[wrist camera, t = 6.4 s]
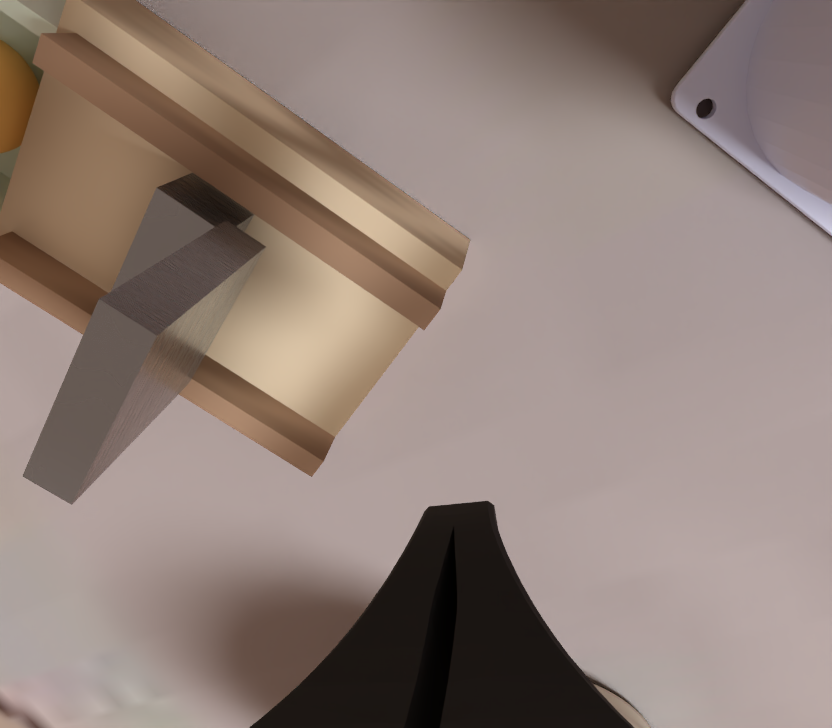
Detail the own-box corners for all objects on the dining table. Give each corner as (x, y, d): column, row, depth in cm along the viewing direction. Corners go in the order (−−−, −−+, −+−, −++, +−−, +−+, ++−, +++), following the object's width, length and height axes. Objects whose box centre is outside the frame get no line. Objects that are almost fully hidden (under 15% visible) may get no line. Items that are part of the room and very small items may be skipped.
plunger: (287, 229, 18) (157, 335, 12) (214, 357, 21) (72, 504, 14) (195, 166, 18) (7, 241, 11) (131, 305, 20) (-54, 431, 14)
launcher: (470, 239, 21) (457, 287, 17) (335, 420, 25) (300, 491, 21) (132, -3, 19) (31, -12, 15) (46, 235, 23) (-50, 275, 19)
